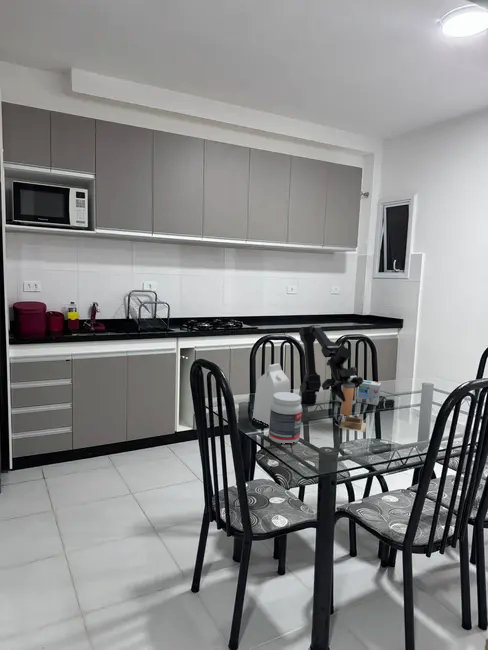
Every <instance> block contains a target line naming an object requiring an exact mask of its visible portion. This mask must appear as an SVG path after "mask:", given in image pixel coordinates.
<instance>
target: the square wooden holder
mask: <svg viewBox="0 0 488 650" xmlns="http://www.w3.org/2000/svg"><path fill="white" fill-rule="evenodd" d="M338 427H339V429H342V430H349V431H355V432H361V433H366V427H367V423H366V422H363V418H360V417H354V416H349V415H345V418H344V419H340V424H339V426H338Z"/></svg>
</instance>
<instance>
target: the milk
mask: <svg viewBox="0 0 488 650" xmlns="http://www.w3.org/2000/svg"><path fill="white" fill-rule="evenodd" d="M278 392H290V393H291V381H290V380H289V377H287V375H286V374H285V372H284V370H282V366H281V364H280V363H273V364H269V365H268V367H267V371H266V372H265V373H264V374H262V375H261V376H260V377H259V378H258V379H257V381H256V388H255V398H254V404H253V412H252V413H253V414H252V419H253V418H255V419H257V420H259V421H262V422H264V423H266V424H268V425H269V421H270V406H271V403H272V402H273V401H274V400H273V395H274V394H275V393H278Z"/></svg>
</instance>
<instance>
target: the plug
mask: <svg viewBox="0 0 488 650" xmlns="http://www.w3.org/2000/svg"><path fill="white" fill-rule="evenodd" d="M343 386H344V387H343V394H344V397H345V401H344V402H343V401H342V402H341V409H340V414H341V415H344V416H351V415H352V410H353V404H352V402H353V393H354V388H355V384H353V383H349V382H345V383H343Z"/></svg>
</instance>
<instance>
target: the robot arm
mask: <svg viewBox="0 0 488 650" xmlns="http://www.w3.org/2000/svg"><path fill="white" fill-rule="evenodd" d="M298 335H299V338H300V339H299V340H300V341H301V342H302V343H303V349H304V360H305V361H304V364H305V374H304V377H303V378H302V379H303V381H302V383H301V384H300V385H299V390H300V391H301V392H302V396H301V402H300V404H301V405H302V404H303V405H309V406H315V404H316V403H317V397H318V395H317V393H319V392H320V389H321V388H322V390H323V391H330V392H332V393H334V395H336V397H339V398H340V399H341V400H342V401H343V402H344V401H345V397H344V394H343V392H342V389H341V385H343V383H345V382H349V383H353V384H355V388H359V386H360V385H361V384H362V383H363V382H364V381H363V380H364V379H363V377H361V376H357V377H354V378H353V379H352V380H348V379H350V378H351V377H350V376H356V374H358V370H357V367H356V366H352V367H349V368H346V367H344V364H345V363H346V362H347V361H348V360H349V359H350V358H351V356H352V351H351V350H350V349H349V348H347V347H346V346H345V345H341V344H340V345H338V344H337V343H336V342H334V341H332V340H331V339H329V337H328V336H327V334H326V333H325V332H324V331H323V329H322V326H321V325H318V324H316V325H315V324H312V325H309V326H302V327H301V328H299V331H298ZM316 341H317V342H318V344H319V346H320V347H321V353H322V356H323V357H324V358H329V359H327V362H326V366H329V368H330V371H331V373H330V376H331V377H333V378H326V379H325V380H324V382H323V383H322V382H321V375H320V374H318V372H317V370H316V359H315V347H314V344H315V342H316ZM355 388H354V393H353V401H354V400H355Z"/></svg>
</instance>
